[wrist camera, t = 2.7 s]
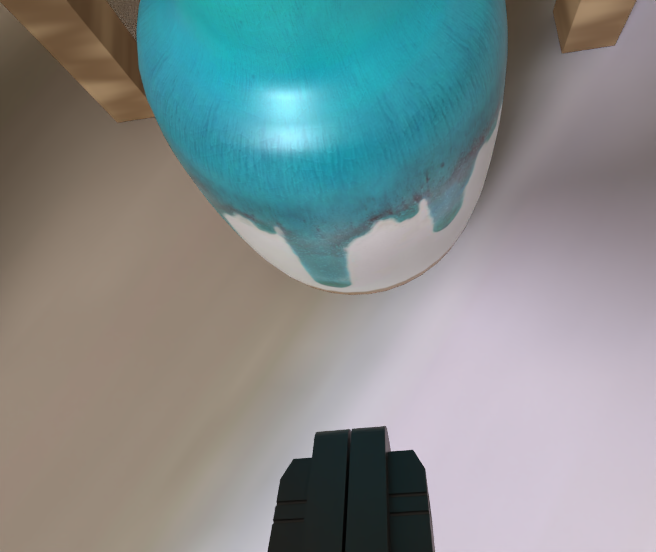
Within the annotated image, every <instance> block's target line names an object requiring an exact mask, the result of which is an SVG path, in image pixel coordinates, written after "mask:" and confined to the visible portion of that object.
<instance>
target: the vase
mask: <svg viewBox="0 0 656 552" xmlns="http://www.w3.org/2000/svg"><path fill="white" fill-rule="evenodd" d="M137 51H138V65H139V71H140V75H141V79H142V83H143V86H144V90H145V94H146V97H147V101H148V103H149V105H150V107H151V109H152V111H153V114H154V116H155V118H156V120H157V122H158V124H159V126H160V128H161V130H162V133H163V135H164V137H165V139H166V140H167V142H168V144H169V146H170V147H171V149H172V151H173V153H174V154H175V156H176V157H177V159H178V160H179V162H180V163H181V164H182V166H183V167H184V169H185V170H186V172H187V173H188V174H189V176H190V177H191V179H192V180H193V181H194V183H195V184H196V185H197V187H198V188H199V189H200V191H201V192H202V193H203V195H204V196H205V197H206V199H207V200H208V201H209V202H210V204H211V205H212V206H213V207H214V208H215V209H216V211H217V212H218V213H219V214H220V215H221V217H222V218H223V219H224V220H225V221H226V222H227V223H228V224H229V225H230V226H231V227H232V229H233V230H234V231H235V232H236V233H237V234H238V235H239V236H240V237H241V238H242V239H243V240H245V241H246V242H247V243H248V244H249V245H250V246H251V247H252V248H253V249H254V250H255V251H256V252H257V253H258V254H259V255H260V256H262V257H263V258H264V259H265V260H267V261H268V262H269V263H271V264H272V265H274V266H275V267H277V268H278V269H279V270H281V271H282V272H284V273H285V274H287V275H288V276H290V277H291V278H293V279H295V280H297V281H300V282H302V283H304V284H306V285H308V286H310V287H313V288H316V289H320V290H323V291H327V292H331V293H339V294H348V295H356V294H372V293H377V292H382V291H387V290H390V289H393V288H395V287H398V286H401V285H404V284H406V283H408V282H409V281H411V280H413V279H415V278H417V277H419V276H421V275H422V274H423V273H425V272H426V271H427V270H429V269H430V268H431V267H433V266H434V265H435V264H437V263H438V262H439V261H440V260H441V259H442V258H443V257H444V256H445V254H446V253H447V252H448V251H449V250H450V249H451V248H452V246H453V245H454V243H455V242H456V241H457V239H458V238H459V236H460V235H461V233H462V232H463V230H464V229H465V227H466V225H467V223H468V221H469V219H470V216H471V214H472V212H473V210H474V208H475V206H476V204H477V202H478V199H479V197H480V194H481V192H482V189H483V186H484V182H485V179H486V176H487V172H488V169H489V165H490V161H491V158H492V154H493V150H494V146H495V141H496V137H497V132H498V127H499V122H500V117H501V111H502V104H503V97H504V87H505V77H506V65H507V53H508V27H507V13H506V3H505V0H140V4H139V10H138V20H137Z"/></svg>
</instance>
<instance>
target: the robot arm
mask: <svg viewBox="0 0 656 552" xmlns="http://www.w3.org/2000/svg"><path fill="white" fill-rule="evenodd" d="M273 521H274V524H272V530H271V536H270V541H269V547H268V552H435V546H434V536H433V526H432V517H431V509H430V502H429V494H428V487H427V479H426V472H425V468H424V466H423V465H422V463H421V462H420V460H419V459H418V457H417V455H416V454H415V452H414V451H413V450H406V451H392V452H391V450H390V444H389V438H388V432H387V428H386V426H382V427H370V428H357V429H352V431H351V430H350V429H347V430H335V431H323V432H316V434H315V438H314V446H313V454H312V458H302V459H293V461H292V462H291V464H290V465H289V467H288V468H287V470H286V471H285V473H284V475H283V476H282V478H281V479H280V485H279V490H278V496H277V506H276V507H275V513H274V519H273Z"/></svg>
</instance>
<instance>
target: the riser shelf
mask: <svg viewBox="0 0 656 552" xmlns="http://www.w3.org/2000/svg"><path fill="white" fill-rule="evenodd" d="M0 2H1V3H2V4H3V5H4V6H5V7H6V8H7V9H8V10H9V11H10V12H11V13H12V14H13V15H14V16H15V17H16V18H17V19H18V21H19V22H20V23H21V24H22V25H23V26H24V27H25V28H26V29H27V30H28V31H29V32H30V33H31V34H32V35H33V36H34V37H35V38H36V39H37V40H38V41H39V42H40V43H41V44H42V45H43V46H44V47H45V48H46V49H47V50H48V51H49V52H50V53H51V55H52V56H53V57H54V58H55V59H56V60H57V61H58V62H59V63H60V64H61V65H62V66H63V67H64V68H65V69H66V70H67V71H68V72H69V73H70V74H71V75H72V76H73V77H74V78H75V79H76V80H77V81H78V82H79V83H80V84H81V85H82V86H83V88H84V89H85V90H86V91H87V92H88V93H89V94H90V95H91V96H92V97H93V98H94V99H95V100H96V101H97V102H98V103H99V104H100V105H101V106H102V107H103V108H104V109H105V110H106V111H107V112H108V113H109V114H110V115H111V116H112V117H113V118H114V119H115V120H116V122H117V123H118V122H125V121H131V120H138V119H144V118H151V117H155V116H154V114H153V111H152V109H151V107H150V105H149V103H148V101H147V97H146V94H145V90H144V86H143V83H142V79H141V75H140V71H139V65H138V51H137V42H136V41H135V40H134V38H133V37H132V35H131V34H130V33H129V31H128V30H127V29H126V27H125V26H124V24H123V23H122V22H121V20H120V19H119V17H118V16H117V15H116V13H115V12H114V11H113V9H112V8H111V6H110V5H109V4H108V2H107V1H106V0H0ZM635 2H636V0H556V3H555V6H554V10H553V14H554V19H555V24H556V28H557V33H558V38H559V42H560V47H561V52H562V53H568V52H575V51H581V50H588V49H594V48H600V47H607V46H613V45H615V44H616V42H617V40H618V37H619V35H620V33H621V31H622V29H623V27H624V25H625V23H626V21H627V19H628V17H629V15H630V13H631V11H632V8H633V6H634V4H635Z"/></svg>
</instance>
